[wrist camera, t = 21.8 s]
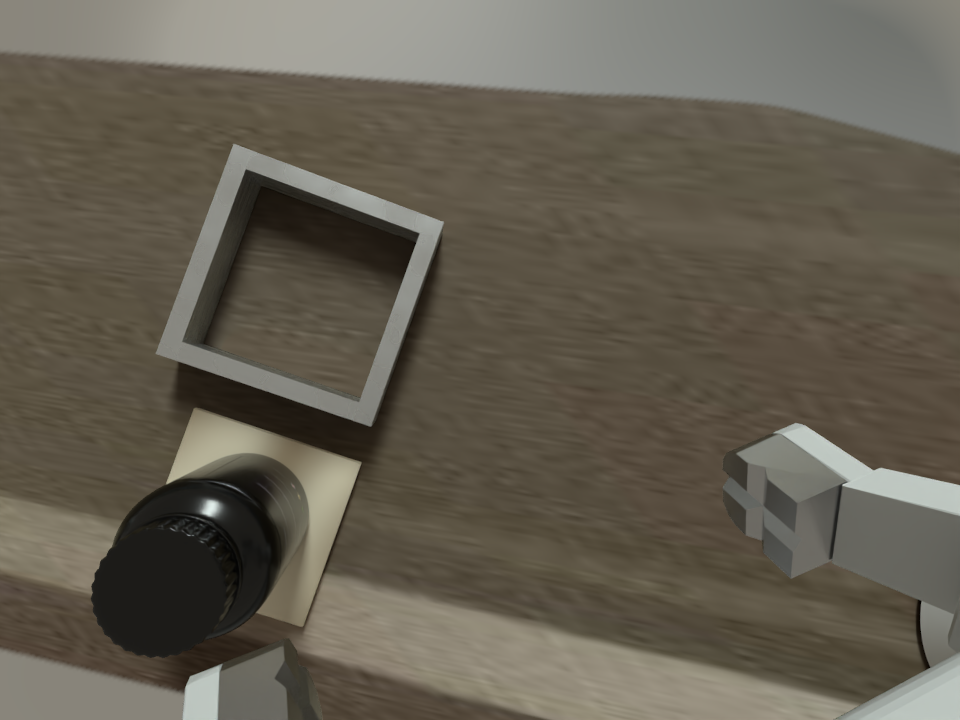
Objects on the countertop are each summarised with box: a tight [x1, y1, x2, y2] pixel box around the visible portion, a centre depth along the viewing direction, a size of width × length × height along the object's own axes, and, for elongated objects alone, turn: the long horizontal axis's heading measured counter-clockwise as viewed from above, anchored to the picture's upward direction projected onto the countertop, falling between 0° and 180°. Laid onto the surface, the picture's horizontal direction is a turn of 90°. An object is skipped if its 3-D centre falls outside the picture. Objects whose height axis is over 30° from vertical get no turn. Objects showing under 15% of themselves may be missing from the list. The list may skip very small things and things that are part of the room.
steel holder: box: [156, 144, 444, 427], centre depth 33 cm, size 12×12×3 cm
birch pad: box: [166, 408, 362, 627], centre depth 34 cm, size 10×10×1 cm
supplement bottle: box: [91, 453, 309, 658], centre depth 28 cm, size 7×7×12 cm
